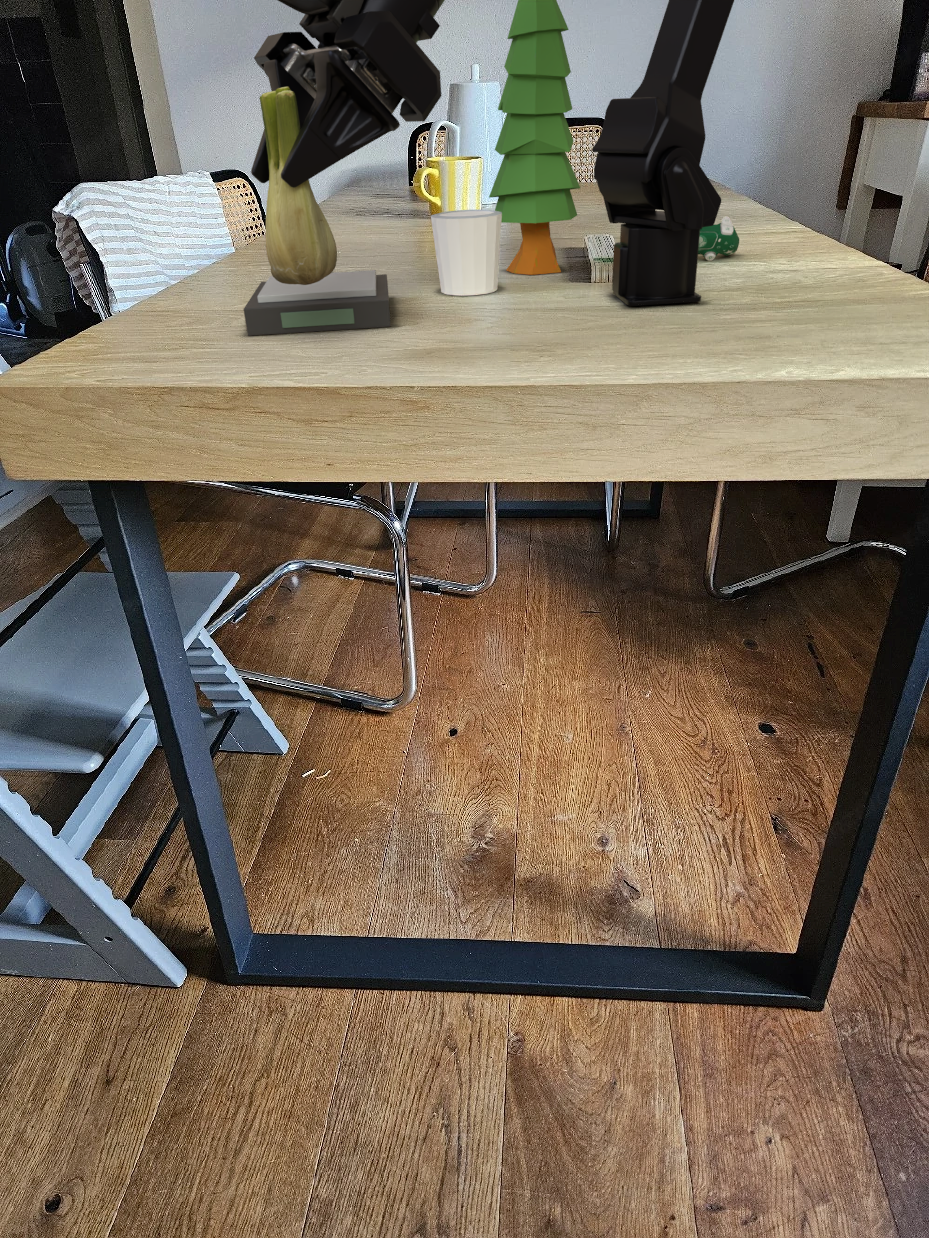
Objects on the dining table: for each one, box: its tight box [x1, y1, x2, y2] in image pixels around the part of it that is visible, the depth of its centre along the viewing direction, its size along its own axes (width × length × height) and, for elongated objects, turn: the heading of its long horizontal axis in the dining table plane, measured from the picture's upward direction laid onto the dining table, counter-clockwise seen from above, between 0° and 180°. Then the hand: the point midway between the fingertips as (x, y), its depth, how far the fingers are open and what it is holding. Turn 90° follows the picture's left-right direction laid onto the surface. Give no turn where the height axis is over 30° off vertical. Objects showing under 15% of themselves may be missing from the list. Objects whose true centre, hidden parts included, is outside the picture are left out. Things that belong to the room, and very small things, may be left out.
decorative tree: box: [488, 0, 581, 276], centre depth 89 cm, size 10×9×30 cm
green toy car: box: [698, 215, 740, 262], centre depth 97 cm, size 9×4×6 cm
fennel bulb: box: [259, 87, 338, 285], centre depth 60 cm, size 6×5×12 cm
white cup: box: [430, 209, 502, 297], centre depth 86 cm, size 7×7×7 cm
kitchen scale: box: [243, 269, 392, 337], centre depth 79 cm, size 12×13×3 cm
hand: (271, 180), depth 60 cm, fingers closed on fennel bulb, 6 cm apart
